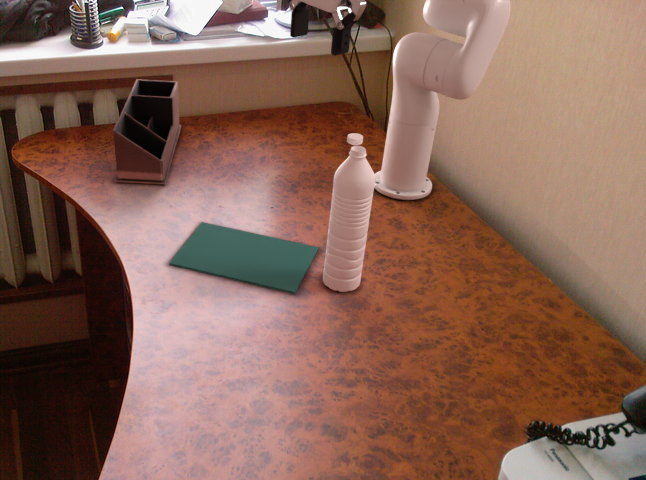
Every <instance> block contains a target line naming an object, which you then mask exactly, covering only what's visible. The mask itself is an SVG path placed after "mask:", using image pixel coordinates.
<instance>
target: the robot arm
mask: <svg viewBox="0 0 646 480" xmlns="http://www.w3.org/2000/svg"><path fill="white" fill-rule="evenodd" d="M288 1H289V3H288V8H289V10H290V11H291V19H290V33H289V34H290V37H291V38H299V37H303V36H304V37H305V36H308V34H309V22H310V8H307V7H308V6H311V7H314V8H316V9H319V10H322V11H323V12H324V11H325V12H326V13H327V12H328V13H331V15H332V18H333V20H334V23H335V26H336V27H333V29H332V36H331V37H332V38H331V47H330V54H331V55H332V56H335V57H336V56H340V55H345V54H348V53H349V51H350V45H351V37H352V36H351V35H352V28H354V27H355V26H356V24H357V23H358V22H359V21H360V20H361V18H362V15H363V13H364V11H365V9H366V7H367V1H366V0H288ZM511 11H512V2H511V0H425V2H424V5H423V9H422V17H423V20H424V21H425V23H426V24H427V25H429V26H430V27H432V28H434V29H436V30H439V31H442V32H445V33H448V34H451V35H455V36H459V37H462V38H465V41H464V43H461V42H457V41H454V40H451V39H448V38H445V37H441V36H438V35H435V34H431V33H427V32H420V31H415V32H410V33H407V34H405V35H404V36H402V37H401V39H399V41H398V42H397V44H396V45H395V48H394V51H393V55H392V97H391V103H390V104H391V105H390V110H389V118H388V123H387V130H386V137H385V144H384V148H383V149H384V150H383V156H382V163H381V169H380V170H378V171H377V172H374V175H375V186H374V190H376V191H377V192H378V193H380V194H382V195H383V196H385V197H388V198H391V199H396V200H403V201H414V200H415V201H416V200H420V199H423V198H426V197H427V196H428V195H430V194H431V192H432V190H433V183H432V180H431V179H430V178H429V177H427V176H428V171H429V167H430V161H431V155H432V151H433V145H434V140H435V136H436V130H437V125H438V120H439V115H440V101H439V96H438V94H439V95H441V96H444V97H448V98H451V99H453V100H459V101H461V100H467V99H469V98H471V96H473V95H474V94H475V93H476V91H477V90H478V88H479V87H480V85H481V83H482V81H483V79H484V77H485V75H486V73H487V71H488V68H489V67H490V65H491V62H492V60H493V58H494V56H495V54H496V52H497V49H498V47H499V45H500V42H502V38H503V37H504V34H505V31H506V29H507V27H508V24H509V21H510V17H511V13H512V12H511ZM342 13H343V16H344V17H343V16H342Z"/></svg>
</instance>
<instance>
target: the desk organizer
mask: <svg viewBox="0 0 646 480" xmlns="http://www.w3.org/2000/svg"><path fill="white" fill-rule="evenodd" d="M179 100H180V99H179V82H178V80H177V81H175V80H174V81H173V80H156V79H139V78H136V79H135V81H134V84H133V86H132V88H131V90H130V93H129V95H128V98H127V99H126V102H125V104H124V106H123V108H122V110H121V112H120V114H119V116H118V118H117V120H116V122H115V125H114V127H113V130H112V135H113V144H114V155H115V156H114V157H115V158H114V159H115V168H116V176H115V178H114V180H113V181H114V182H115V183H129V184H130V183H131V184H147V185H148V184H149V185H163V186H164V185H166V183H167V179H168V177H169V176H168V175H169V172H170V169H171V164H172V161H173V158H174V154H175V150H176V147H177V144H178V141H179V136H180V133H181V130H182V124H180V105H179Z"/></svg>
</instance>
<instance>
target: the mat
mask: <svg viewBox="0 0 646 480" xmlns="http://www.w3.org/2000/svg"><path fill="white" fill-rule="evenodd" d="M318 252H319V246H315V245H310V244H305V243H301V242H296V241H291V240H287V239H282V238H277V237H273V236H268V235H264V234H259V233H254V232H251V231H245V230H241V229H236V228H231V227H227V226H222V225H218V224H213V223H208V222H204V221H201V222H200V224H199V225H198V227H197V228H196V229H195V230H194V231H193V233H192V234H191V235H190V236H189V238H188V239H187V240H186V241H185V242H184V244H183V245H182V247H181V248H180V249H179V250H178V251H177V253H176V254H175V255H174V257H173V258H172V259H171V260H170V261H169V266H173V267H177V268H182V269H186V270H190V271H194V272H199V273H203V274H207V275H211V276H216V277H220V278H224V279H228V280H233V281H236V282H242V283H247V284H250V285H254V286H258V287H262V288H267V289H272V290H276V291H279V292H285V293H289V294H293V295H296V294H297V292H298V290H299V288H300V286H301V284H302V282H303V280H304V278H305V276H306V274H307V272H308V271H309V268H310V267H311V265H312V264H313V261H314V259H315V257H316V255H317V254H318Z"/></svg>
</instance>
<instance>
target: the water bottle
mask: <svg viewBox="0 0 646 480" xmlns="http://www.w3.org/2000/svg"><path fill="white" fill-rule="evenodd" d="M346 142H347V143H348V144H349V145H353V146H351V147H350V151H349V152H348V157H347V158H346V159H345V160H344V161H343V162H342V163H341V164H339V166H338V167H337V169H336V171H335V172H334V175H333V180H332V181H333V182H332V183H333V184H332V194H331V203H330V212H329V220H328V229H327V239H326V245H325V246H326V248H325V258H324V265H323V271H322V272H323V273H322V282H323V284H324V285H325V286H326V287H328V288H329V289H330V290H332V291H335V292H337V291H338V292H339V293H348V292H353V291H354V290H356V289H357V288H358V287H360V285H361V280H362V274H363V273H362V271H363V268H364V267H363V266H364V259H365V253H366V251H365V250H366V246H367V245H366V243H367V239H368V232H369V225H370V219H371V210H372V205H373V197H374V192H375V191H374V190H375V188H374V186H375V175H374V174H375V172H374V170H373V169H372V167H371V164H370V163H369V161H368V159H367V158H366V157H367V156H368V154H367V148H365V147H364V146H362V144H363V142H364V135H362V134H361V133H356V132H352V133H348V134H347V138H346Z"/></svg>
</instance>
